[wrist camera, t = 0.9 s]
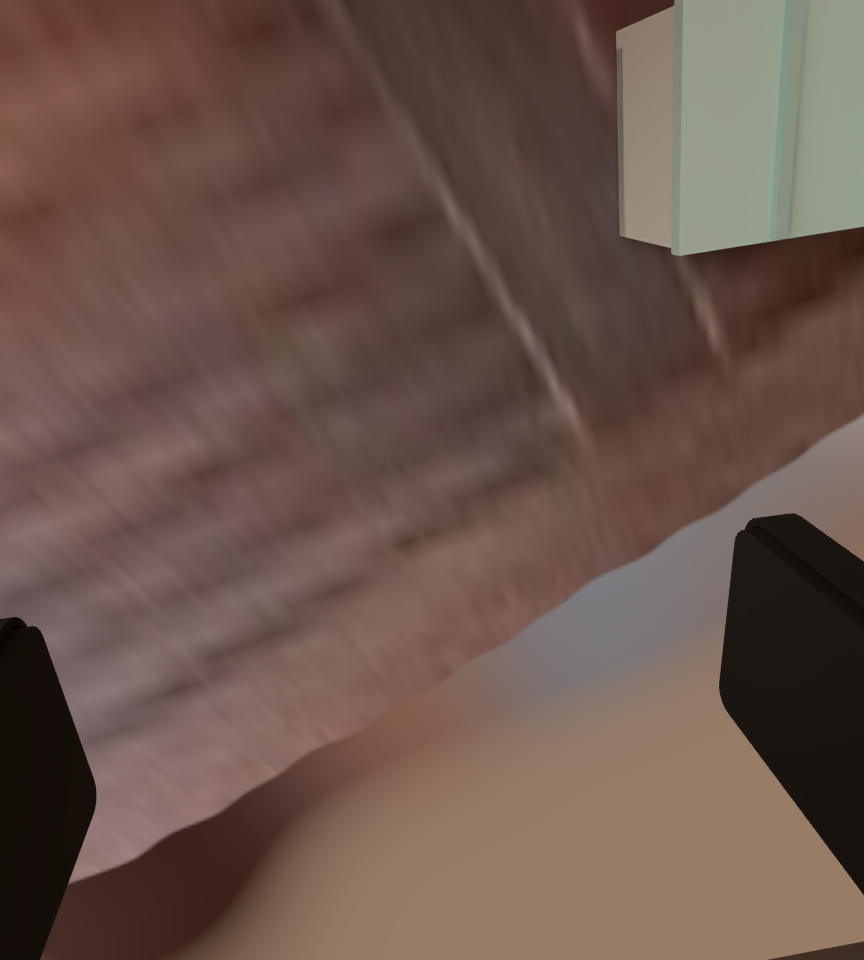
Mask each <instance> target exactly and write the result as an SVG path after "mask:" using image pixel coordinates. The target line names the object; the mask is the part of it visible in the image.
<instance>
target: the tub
mask: <svg viewBox="0 0 864 960" xmlns="http://www.w3.org/2000/svg"><path fill="white" fill-rule="evenodd" d="M616 57H617V115H618V174H619V233H620V236H622V237H626V238H631V239H635V240H639V241H643V242H647V243H652V244H656V245H660V246H664V247H668V248H671V243H672V163H673V83H674V6H673V7H670V8H668V9H666V10H664V11H661V12H659V13H657V14H655V15H652V16H650V17H648V18H646V19H643V20H641V21H639V22H637V23H634V24H632V25H630V26H628V27H625V28H623V29H621V30H619V31H616Z"/></svg>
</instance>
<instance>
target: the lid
mask: <svg viewBox="0 0 864 960" xmlns="http://www.w3.org/2000/svg"><path fill="white" fill-rule="evenodd" d="M858 227H864V0H675V3H674V83H673V163H672V243H671V254H673V255H677V256H682V255H688V254H695V253H701V252H707V251H714V250H720V249H726V248H732V247H739V246H745V245H751V244H757V243H764V242H770V241H776V240H782V239H789V238H795V237H801V236H808V235H814V234H820V233H826V232H833V231H839V230H845V229H851V228H858Z"/></svg>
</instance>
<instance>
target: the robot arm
mask: <svg viewBox="0 0 864 960" xmlns="http://www.w3.org/2000/svg"><path fill="white" fill-rule="evenodd" d="M719 690H720V696H721V699H722V702H723V705H724V707H725V709H726V710H727V712H728V714H729V715H730V716H731V718H732V719H733V720H734V722H735V723H736V724H737V726H738V727H739V728H740V730H741V731H742V732H743V734H744V735H745V736H746V738H747V739H748V740H749V742H750V743H751V744H752V746H753V747H754V749H755V750H756V751H757V753H758V754H759V755H760V757H761V758H762V759H763V760H764V762H765V763H766V764H767V766H768V767H769V769H770V770H771V771H772V773H773V774H774V775H775V777H776V778H777V779H778V780H779V782H780V783H781V785H782V786H783V787H784V789H785V790H786V791H787V793H788V794H789V795H790V797H791V798H792V799H793V801H794V802H795V803H796V805H797V806H798V807H799V809H800V810H801V811H802V813H803V814H804V815H805V817H806V818H807V820H808V821H809V822H810V824H811V825H812V826H813V828H814V829H815V830H816V831H817V833H818V834H819V836H820V837H821V838H822V839H823V841H824V842H825V844H826V845H827V846H828V848H829V849H830V850H831V852H832V853H833V854H834V856H835V857H836V858H837V860H838V861H839V862H840V864H841V865H842V866H843V868H844V869H845V870H846V872H847V873H848V874H849V876H850V877H851V878H852V880H853V881H854V883H855V884H856V885H857V886H858V888H859V889H860V890H861V892H862V893H863V895H864V561H862V560H861V559H859V558H858V557H857V556H855V555H854V554H852V553H851V552H850V551H848V550H847V549H845V548H844V547H843V546H841V545H840V544H838V543H837V542H836V541H834V540H833V539H831V538H830V537H829V536H827V535H826V534H824V533H823V532H822V531H820V530H819V529H818V528H816V527H815V526H813V525H812V524H811V523H809V522H808V521H806V520H805V519H804V518H802V517H801V516H799V515H797V514H783V515H776V516H769V517H760V518H753V519H752V520H750V521H749V522H748V524H747V526H746V528H745V530H741V531H740V532H738V534H737V536H736V538H735V543H734V552H733V562H732V571H731V580H730V589H729V599H728V608H727V617H726V626H725V635H724V644H723V654H722V663H721V672H720V681H719ZM95 806H96V785H95V781H94V778H93V775H92V772H91V770H90V767H89V764H88V761H87V758H86V756H85V753H84V750H83V747H82V744H81V742H80V739H79V736H78V733H77V730H76V727H75V725H74V722H73V719H72V716H71V713H70V711H69V708H68V705H67V702H66V699H65V697H64V694H63V691H62V688H61V685H60V683H59V680H58V677H57V674H56V671H55V668H54V666H53V663H52V660H51V657H50V654H49V652H48V649H47V646H46V643H45V640H44V638H43V635H42V633H41V631H40V630H39V629H38V628H37V627H35V626H31V627H27V625H26V624H25V623H24V622H23V620H22V619H20V618H17V617H13V618H5V619H0V960H40V958H41V955H42V953H43V950H44V947H45V945H46V942H47V939H48V936H49V934H50V931H51V928H52V926H53V923H54V920H55V917H56V915H57V912H58V909H59V907H60V904H61V901H62V899H63V896H64V893H65V890H66V888H67V885H68V882H69V879H70V877H71V874H72V871H73V869H74V866H75V863H76V860H77V858H78V855H79V852H80V850H81V847H82V844H83V841H84V839H85V836H86V833H87V831H88V828H89V825H90V822H91V820H92V817H93V814H94V811H95ZM769 960H864V942H859V943H853V944H848V945H843V946H838V947H832V948H827V949H822V950H816V951H811V952H806V953H801V954H795V955H790V956H784V957H780V958H774V959H769Z"/></svg>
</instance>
